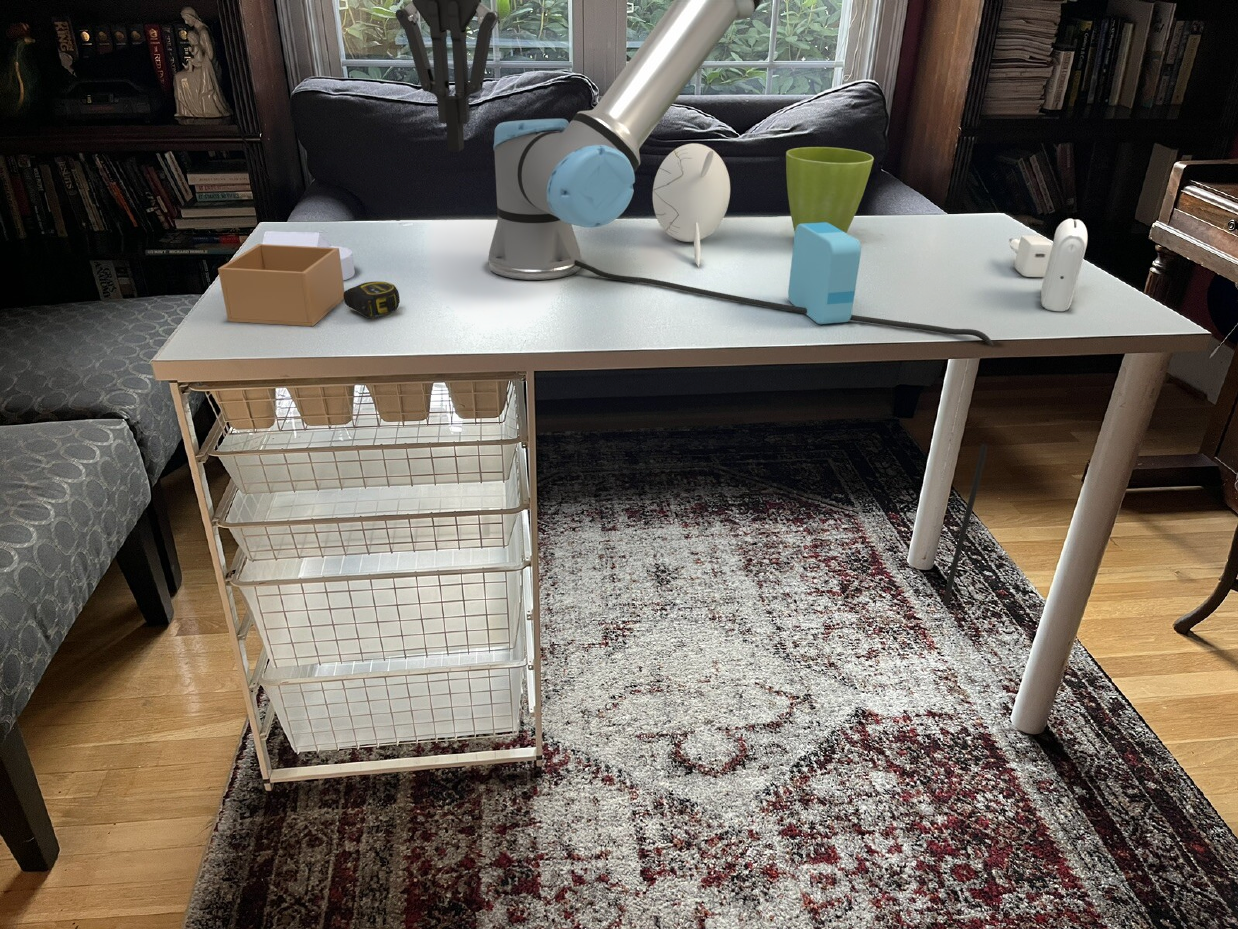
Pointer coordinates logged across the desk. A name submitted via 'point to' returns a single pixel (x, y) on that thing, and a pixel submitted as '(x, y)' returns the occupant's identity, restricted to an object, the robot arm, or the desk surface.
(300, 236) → the wedge on round base
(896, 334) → the desk surface
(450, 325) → the desk surface
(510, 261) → the robot arm
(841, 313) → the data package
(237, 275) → the box
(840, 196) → the flower pot
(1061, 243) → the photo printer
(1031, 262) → the power adapter
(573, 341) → the desk surface
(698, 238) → the cracked egg ornament
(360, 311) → the tape measure
